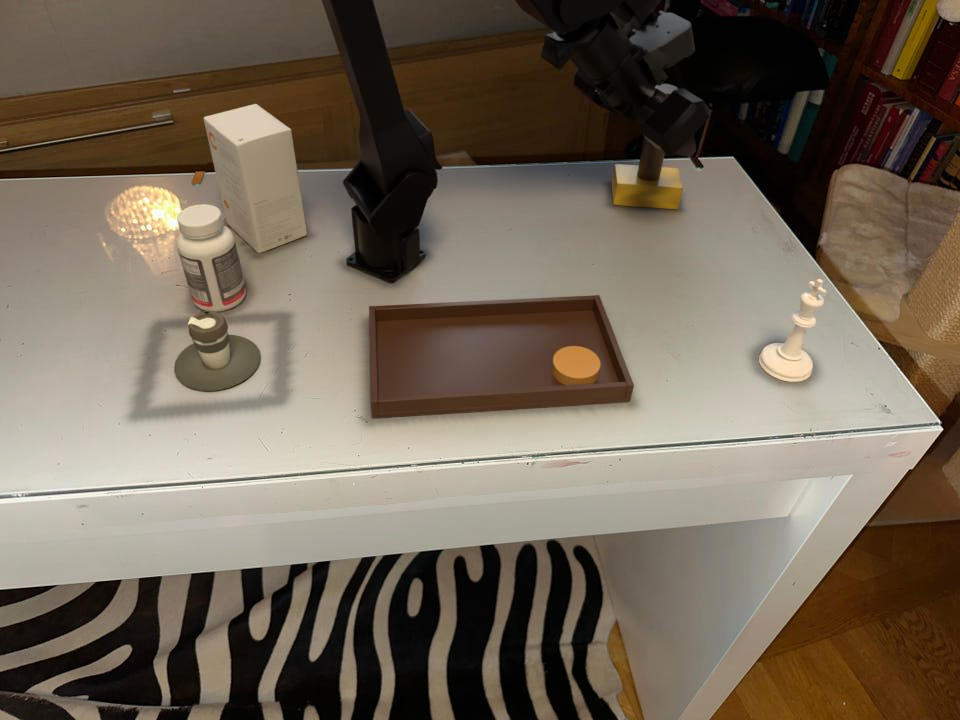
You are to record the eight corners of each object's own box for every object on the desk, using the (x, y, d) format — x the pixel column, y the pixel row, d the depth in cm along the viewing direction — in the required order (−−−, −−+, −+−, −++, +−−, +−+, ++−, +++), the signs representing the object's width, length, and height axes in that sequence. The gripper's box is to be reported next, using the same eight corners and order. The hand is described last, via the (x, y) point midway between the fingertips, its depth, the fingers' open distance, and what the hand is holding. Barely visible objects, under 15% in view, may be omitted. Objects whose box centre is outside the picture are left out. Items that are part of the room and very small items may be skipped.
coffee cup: (280, 400, 67) (272, 359, 63) (139, 413, 65) (122, 372, 62) (284, 315, 75) (276, 275, 72) (159, 325, 74) (145, 284, 70)
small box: (308, 236, 86) (293, 128, 77) (258, 255, 83) (235, 145, 74) (274, 206, 91) (256, 101, 82) (225, 223, 87) (200, 116, 79)
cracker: (542, 373, 70) (543, 363, 69) (568, 348, 72) (569, 339, 71) (582, 394, 68) (584, 385, 67) (607, 368, 70) (609, 359, 69)
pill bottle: (243, 277, 80) (225, 196, 73) (250, 307, 76) (231, 225, 70) (190, 287, 78) (167, 204, 72) (194, 318, 75) (170, 234, 68)
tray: (372, 418, 65) (370, 401, 64) (370, 322, 75) (368, 305, 74) (630, 402, 68) (634, 385, 67) (596, 310, 78) (599, 294, 76)
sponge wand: (613, 204, 93) (632, 95, 84) (611, 184, 97) (629, 77, 88) (678, 209, 93) (704, 99, 84) (673, 189, 97) (698, 82, 87)
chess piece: (784, 388, 70) (821, 304, 63) (747, 356, 73) (779, 272, 66) (822, 372, 72) (862, 289, 65) (785, 342, 75) (819, 259, 68)
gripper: (718, 22, 71) (772, 114, 82) (609, -33, 83) (670, 54, 95) (635, 115, 74) (699, 192, 85) (541, 49, 86) (608, 124, 97)
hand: (668, 136), depth 90 cm, fingers open, 9 cm apart
